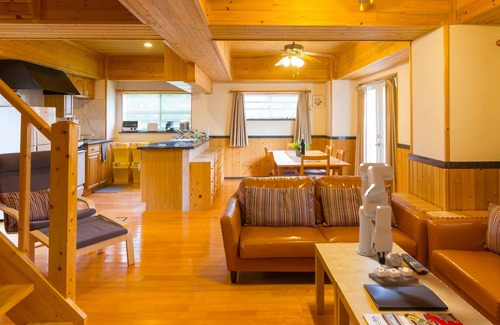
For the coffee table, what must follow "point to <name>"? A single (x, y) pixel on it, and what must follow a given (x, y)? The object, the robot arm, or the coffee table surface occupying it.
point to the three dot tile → (381, 271)
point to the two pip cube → (405, 271)
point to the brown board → (393, 279)
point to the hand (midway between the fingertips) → (381, 263)
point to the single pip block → (393, 273)
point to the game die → (396, 260)
